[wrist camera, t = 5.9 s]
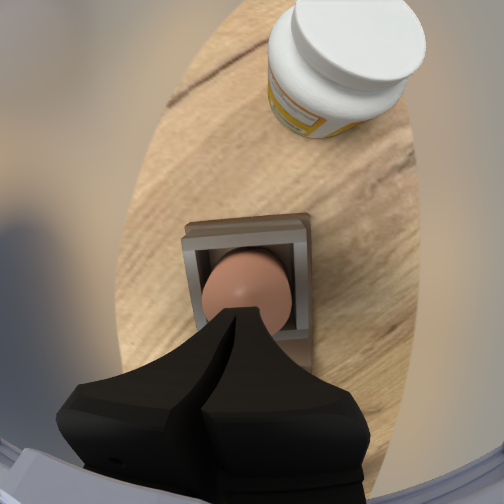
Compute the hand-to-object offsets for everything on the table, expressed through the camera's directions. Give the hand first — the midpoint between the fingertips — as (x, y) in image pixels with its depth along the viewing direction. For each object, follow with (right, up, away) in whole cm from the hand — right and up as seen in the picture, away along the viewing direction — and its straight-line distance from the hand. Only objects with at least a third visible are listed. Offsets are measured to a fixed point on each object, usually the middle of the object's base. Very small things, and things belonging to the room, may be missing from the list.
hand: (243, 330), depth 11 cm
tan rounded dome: (0, +1, +4) cm, 5 cm away
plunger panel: (+1, -3, +8) cm, 9 cm away
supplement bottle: (+4, +12, +4) cm, 13 cm away
